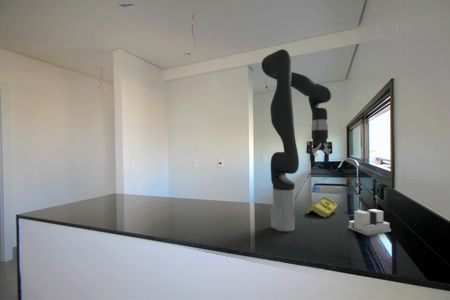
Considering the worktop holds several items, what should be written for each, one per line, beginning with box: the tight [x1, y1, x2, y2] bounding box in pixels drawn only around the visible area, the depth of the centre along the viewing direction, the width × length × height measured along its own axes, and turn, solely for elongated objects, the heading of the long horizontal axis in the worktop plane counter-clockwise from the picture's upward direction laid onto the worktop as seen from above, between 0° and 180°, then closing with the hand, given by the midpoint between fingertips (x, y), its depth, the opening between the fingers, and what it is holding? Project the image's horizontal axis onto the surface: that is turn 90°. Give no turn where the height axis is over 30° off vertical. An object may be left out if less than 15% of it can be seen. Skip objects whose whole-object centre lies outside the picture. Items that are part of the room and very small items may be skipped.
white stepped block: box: [347, 208, 392, 236], centre depth 98 cm, size 14×9×8 cm, turn 112°
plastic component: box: [305, 196, 338, 218], centre depth 127 cm, size 20×7×10 cm
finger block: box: [353, 209, 370, 230], centre depth 97 cm, size 5×4×7 cm
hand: (319, 162), depth 113 cm, fingers open, 8 cm apart
